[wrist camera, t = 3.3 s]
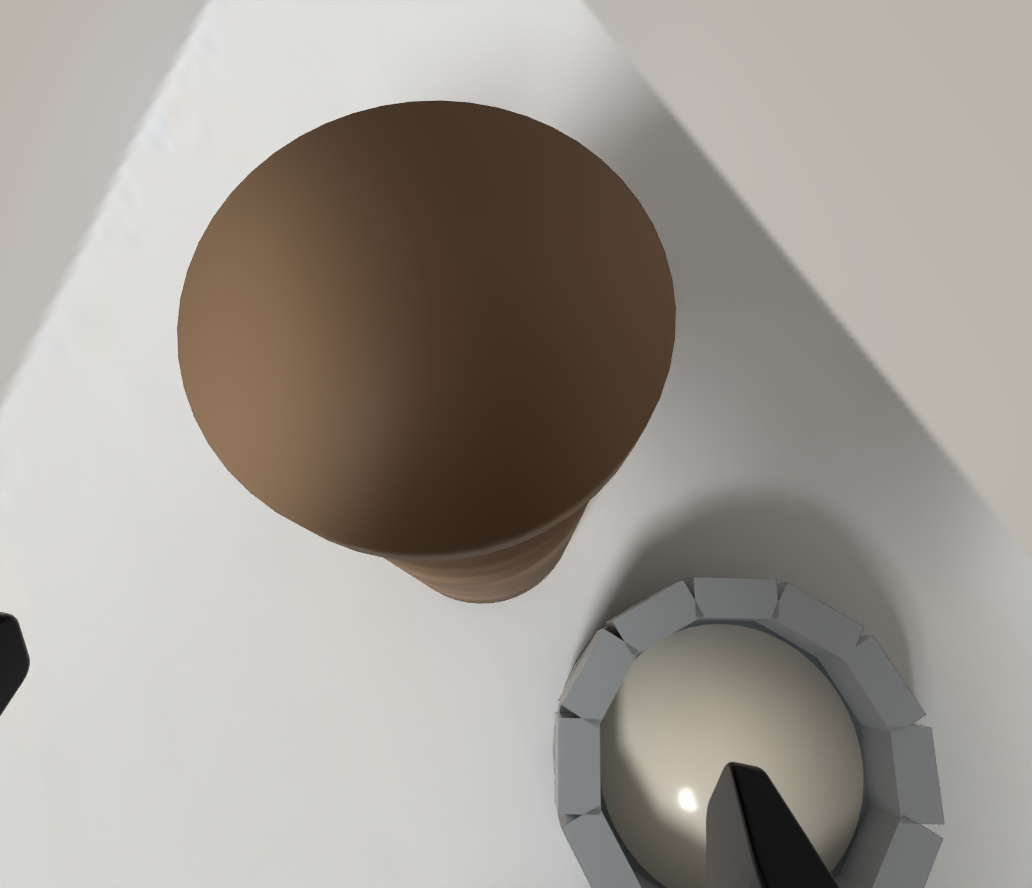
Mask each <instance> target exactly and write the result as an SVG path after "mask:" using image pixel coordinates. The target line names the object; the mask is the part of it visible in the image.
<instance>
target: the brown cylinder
mask: <svg viewBox="0 0 1032 888" xmlns="http://www.w3.org/2000/svg"><path fill="white" fill-rule="evenodd" d="M675 315H676V307H675V299H674V290H673V282H672V277H671V273H670V269H669V266H668V262H667V258H666V254H665V251H664V249H663V246H662V244H661V242H660V239H659V237H658V235H657V232H656V230H655V228H654V225H653V224H652V222H651V220H650V219H649V217H648V215H647V214H646V212H645V210H644V209H643V207H642V205H641V204H640V202H639V200H638V199H637V198H636V197H635V195H634V194H633V193H632V192H631V190H630V189H629V188H628V187H627V185H626V184H625V183H624V182H623V180H622V179H621V178H620V177H619V176H618V175H617V174H616V173H615V172H614V171H613V170H612V169H611V168H610V167H609V166H608V165H606V164H605V163H604V162H603V161H602V160H601V159H600V158H599V157H597V156H596V155H595V154H593V153H592V152H591V151H589V150H588V149H587V148H585V147H584V146H583V145H581V144H580V143H579V142H577V141H576V140H574V139H572V138H570V137H569V136H567V135H565V134H563V133H562V132H560V131H558V130H556V129H555V128H553V127H551V126H548V125H546V124H544V123H541V122H539V121H537V120H534V119H532V118H530V117H527V116H524V115H521V114H517V113H514V112H511V111H507V110H504V109H501V108H497V107H491V106H486V105H480V104H475V103H468V102H454V101H416V102H405V103H399V104H392V105H385V106H380V107H376V108H372V109H368V110H364V111H360V112H356V113H353V114H350V115H347V116H345V117H342V118H339V119H336V120H334V121H331V122H328V123H326V124H324V125H322V126H320V127H318V128H316V129H314V130H312V131H310V132H308V133H306V134H304V135H302V136H300V137H298V138H297V139H295V140H293V141H292V142H290V143H289V144H287V145H286V146H284V147H283V148H281V149H280V150H278V151H277V152H275V153H274V154H272V155H271V156H270V157H269V158H268V159H266V160H265V161H264V162H263V163H262V164H260V165H259V166H258V167H257V168H256V169H254V170H253V171H252V172H251V173H250V174H249V175H248V176H247V177H246V178H245V179H244V180H243V181H242V182H241V183H240V184H239V185H238V186H237V187H236V189H235V190H234V191H233V192H232V193H231V194H230V195H229V197H228V198H227V199H226V201H225V202H224V203H223V205H222V206H221V207H220V209H219V210H218V211H217V213H216V214H215V215H214V217H213V218H212V220H211V222H210V224H209V225H208V227H207V229H206V231H205V232H204V234H203V236H202V238H201V240H200V241H199V243H198V246H197V248H196V251H195V253H194V256H193V258H192V260H191V263H190V265H189V268H188V271H187V275H186V279H185V282H184V286H183V290H182V294H181V298H180V307H179V316H178V326H177V335H178V359H179V364H180V369H181V375H182V380H183V385H184V389H185V392H186V395H187V398H188V401H189V404H190V406H191V409H192V412H193V415H194V417H195V419H196V421H197V423H198V425H199V427H200V429H201V431H202V433H203V435H204V436H205V438H206V440H207V442H208V444H209V445H210V447H211V448H212V449H213V451H214V452H215V454H216V455H217V456H218V458H219V459H220V460H221V462H222V463H223V464H224V466H225V467H226V468H227V470H228V471H229V472H230V473H231V474H232V475H233V476H234V477H235V478H236V479H237V480H238V481H239V482H240V483H241V484H242V485H243V486H244V487H245V488H246V489H247V490H248V491H249V492H250V493H251V494H253V495H254V496H255V497H257V498H258V499H259V500H261V501H262V502H263V503H265V504H266V505H267V506H269V507H270V508H271V509H273V510H274V511H275V512H277V513H278V514H280V515H282V516H284V517H286V518H287V519H289V520H291V521H293V522H295V523H297V524H298V525H300V526H302V527H304V528H306V529H308V530H310V531H311V532H313V533H315V534H317V535H319V536H321V537H322V538H324V539H326V540H328V541H331V542H333V543H336V544H339V545H341V546H344V547H347V548H349V549H352V550H355V551H357V552H362V553H366V554H371V555H375V556H379V557H383V558H385V559H386V560H388V561H390V562H391V563H393V564H394V565H396V566H397V567H399V568H401V569H402V570H404V571H405V572H407V573H408V574H410V575H412V576H413V577H415V578H416V579H418V580H419V581H421V582H423V583H424V584H426V585H427V586H429V587H430V588H432V589H434V590H435V591H437V592H439V593H441V594H443V595H445V596H447V597H450V598H453V599H455V600H459V601H464V602H469V603H494V602H500V601H505V600H508V599H511V598H514V597H517V596H519V595H521V594H523V593H525V592H527V591H528V590H530V589H532V588H533V587H535V586H536V585H537V584H539V583H540V582H541V581H542V580H543V579H544V578H546V577H547V575H548V574H549V573H550V572H551V571H552V570H553V569H554V567H555V566H556V564H557V563H558V561H559V560H560V558H561V556H562V554H563V552H564V550H565V548H566V546H567V544H568V542H569V540H570V538H571V536H572V534H573V532H574V530H575V528H576V526H577V524H578V522H579V520H580V518H581V516H582V514H583V512H584V510H585V508H586V506H587V504H588V502H589V500H590V499H591V498H593V497H594V496H595V495H596V494H597V493H598V492H599V491H600V490H601V489H602V488H603V486H604V485H605V484H606V483H607V482H608V481H609V480H610V479H611V478H612V477H613V475H614V474H615V473H616V472H617V471H618V469H619V468H620V467H621V465H622V464H623V462H624V461H625V459H626V458H627V456H628V455H629V453H630V452H631V450H632V449H633V447H634V446H635V444H636V442H637V441H638V439H639V437H640V436H641V434H642V432H643V431H644V429H645V427H646V425H647V423H648V421H649V419H650V417H651V415H652V413H653V411H654V409H655V407H656V405H657V403H658V401H659V399H660V396H661V393H662V390H663V387H664V384H665V381H666V378H667V375H668V372H669V369H670V364H671V358H672V352H673V346H674V341H675Z"/></svg>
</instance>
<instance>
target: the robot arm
mask: <svg viewBox="0 0 1032 888" xmlns="http://www.w3.org/2000/svg"><path fill="white" fill-rule="evenodd" d="M29 666H30V658H29V654H28V651H27V648H26V645H25V641H24V638H23V635H22V632H21V628H20V625H19V622H18V620H17V619H16V618H15V617H14V616H13V615H11V614H8V613H3V612H0V716H1V714H2V713H3V711H4V710H5V708H6V706H7V705H8V703H9V702H10V700H11V699H12V697H13V696H14V694H15V693H16V691H17V690H18V688H19V687H20V685H21V684H22V682H23V681H24V679H25V677H26V675H27V673H28V670H29ZM706 879H707V888H840V886H839V885H838V883H837V882H836V880H835V879H834V877H833V876H832V874H831V872H830V871H829V869H828V868H827V866H826V865H825V863H824V862H823V860H822V858H821V857H820V855H819V854H818V852H817V851H816V849H815V848H814V846H813V844H812V843H811V841H810V840H809V838H808V837H807V835H806V834H805V832H804V830H803V829H802V827H801V826H800V824H799V823H798V821H797V820H796V818H795V816H794V815H793V813H792V812H791V810H790V809H789V807H788V806H787V804H786V802H785V801H784V799H783V798H782V796H781V795H780V793H779V792H778V790H777V788H776V787H775V785H774V784H773V782H772V781H771V779H770V778H769V776H768V775H767V773H766V772H765V771H764V770H763V769H761V768H759V767H757V766H752V765H748V764H743V763H738V762H729V763H727V764H726V765H725V767H724V768H723V770H722V773H721V775H720V777H719V779H718V782H717V784H716V786H715V788H714V791H713V793H712V795H711V798H710V800H709V803H708V807H707V813H706Z"/></svg>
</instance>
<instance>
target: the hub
mask: <svg viewBox="0 0 1032 888" xmlns="http://www.w3.org/2000/svg"><path fill="white" fill-rule="evenodd" d="M605 623H606V625H605V626H604V627H603V628H602V629H601V630H597V632H596V633H595V635H594V637H593V639H592V640H591V641H590V643H589V644H588V645H587V646H586V648H585V649H584V651H583V652H582V654H581V655H580V657H579V658H578V660H577V662H576V663H575V665H574V667H573V669H572V671H571V673H570V675H569V678H568V680H567V682H566V684H565V687H564V690H563V693H562V695H561V696H560V698H559V702H560V703H559V707H558V712H555V729H554V744H553V757H554V774H555V803H556V808H557V812H558V816H559V821H560V825H561V828H562V830H563V832H564V834H565V836H566V838H567V840H568V842H569V844H570V846H571V848H572V850H573V852H574V854H575V856H576V858H577V860H578V862H579V864H580V866H581V868H582V870H583V872H584V874H585V876H586V878H587V880H588V882H589V884H590V886H591V888H707V879H706V813H707V807H708V803H709V800H710V798H711V795H712V793H713V791H714V788H715V786H716V784H717V782H718V779H719V777H720V775H721V773H722V770H723V768H724V767H725V765H726V764H727V763H729V762H738V763H743V764H748V765H752V766H757V767H759V768H761V769H763V770H764V771H765V772H766V773H767V775H768V776H769V778H770V779H771V781H772V782H773V784H774V785H775V787H776V788H777V790H778V792H779V793H780V795H781V796H782V798H783V799H784V801H785V802H786V804H787V806H788V807H789V809H790V810H791V812H792V813H793V815H794V816H795V818H796V820H797V821H798V823H799V824H800V826H801V827H802V829H803V830H804V832H805V834H806V835H807V837H808V838H809V840H810V841H811V843H812V844H813V846H814V848H815V849H816V851H817V852H818V854H819V855H820V857H821V858H822V860H823V862H824V863H825V865H826V866H827V868H828V869H829V871H830V872H831V874H832V876H833V877H834V879H835V880H836V882H837V883H838V885H839V886H840V888H924V886H925V884H926V881H927V879H928V876H929V874H930V871H931V868H932V866H933V863H934V861H935V858H936V856H937V853H938V850H939V848H940V845H941V843H942V840H943V838H942V837H940V836H938V835H937V834H935V833H934V832H932V831H930V830H929V829H927V828H925V827H924V826H922V825H921V824H944V816H943V809H942V802H941V794H940V787H939V779H938V772H937V765H936V757H935V750H934V743H933V735H932V728H931V727H927V726H922V725H917V724H912V723H914V722H916V721H917V720H919V719H920V718H922V717H923V716H925V715H926V713H925V712H924V710H923V709H922V707H921V706H920V704H919V703H918V701H917V700H916V698H915V697H914V695H913V694H912V692H911V691H910V689H909V688H908V686H907V685H906V683H905V682H904V680H903V679H902V677H901V676H900V674H899V673H898V671H897V670H896V668H895V667H894V665H893V664H892V662H891V661H890V659H889V658H888V656H887V655H886V653H885V652H884V650H883V649H882V647H881V646H880V644H879V643H878V641H877V640H876V638H875V637H874V636H860V635H861V633H862V630H863V628H864V626H862V625H861V624H859V623H857V622H855V621H854V620H852V619H850V618H848V617H847V616H845V615H843V614H842V613H840V612H838V611H836V610H835V609H833V608H831V607H829V606H828V605H826V604H824V603H823V602H821V601H819V600H817V599H816V598H814V597H812V596H811V595H809V594H807V593H805V592H804V591H802V590H800V589H798V588H797V587H795V586H793V585H792V584H790V583H788V582H787V583H783V584H778V585H777V583H776V579H755V578H713V577H693V578H690V579H688V580H685V581H683V580H681V581H679V582H676V583H673V584H671V585H669V586H667V587H665V588H664V589H662V590H660V591H658V592H657V593H655V594H653V595H651V596H650V597H648V598H646V599H644V600H642V601H640V602H638V603H636V604H634V605H632V606H630V607H629V608H627V609H626V610H624V611H623V612H621V613H620V614H618V615H617V616H615V617H613V618H612V619H610V620H608V621H606V622H605Z"/></svg>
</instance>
